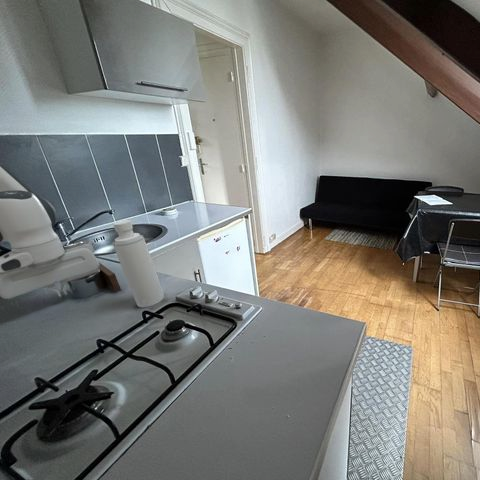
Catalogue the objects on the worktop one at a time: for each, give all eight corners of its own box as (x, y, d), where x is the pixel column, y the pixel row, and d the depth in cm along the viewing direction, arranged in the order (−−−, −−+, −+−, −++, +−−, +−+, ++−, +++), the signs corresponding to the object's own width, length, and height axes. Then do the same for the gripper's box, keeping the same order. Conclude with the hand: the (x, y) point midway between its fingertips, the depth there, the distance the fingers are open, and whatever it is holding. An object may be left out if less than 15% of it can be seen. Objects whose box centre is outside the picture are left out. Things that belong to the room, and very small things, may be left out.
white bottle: (166, 300, 73) (136, 215, 63) (138, 311, 69) (102, 222, 60) (162, 290, 78) (134, 210, 68) (135, 300, 74) (102, 216, 65)
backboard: (115, 292, 79) (108, 275, 76) (90, 271, 93) (83, 256, 91) (121, 290, 80) (114, 273, 77) (95, 269, 94) (88, 254, 92)
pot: (81, 302, 75) (72, 285, 72) (69, 293, 80) (60, 276, 77) (113, 288, 81) (106, 272, 79) (99, 281, 86) (92, 265, 84)
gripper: (86, 236, 79) (103, 276, 84) (-18, 264, 64) (10, 309, 69) (92, 240, 75) (109, 282, 80) (-17, 270, 60) (13, 318, 66)
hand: (63, 295), depth 75 cm, fingers closed
